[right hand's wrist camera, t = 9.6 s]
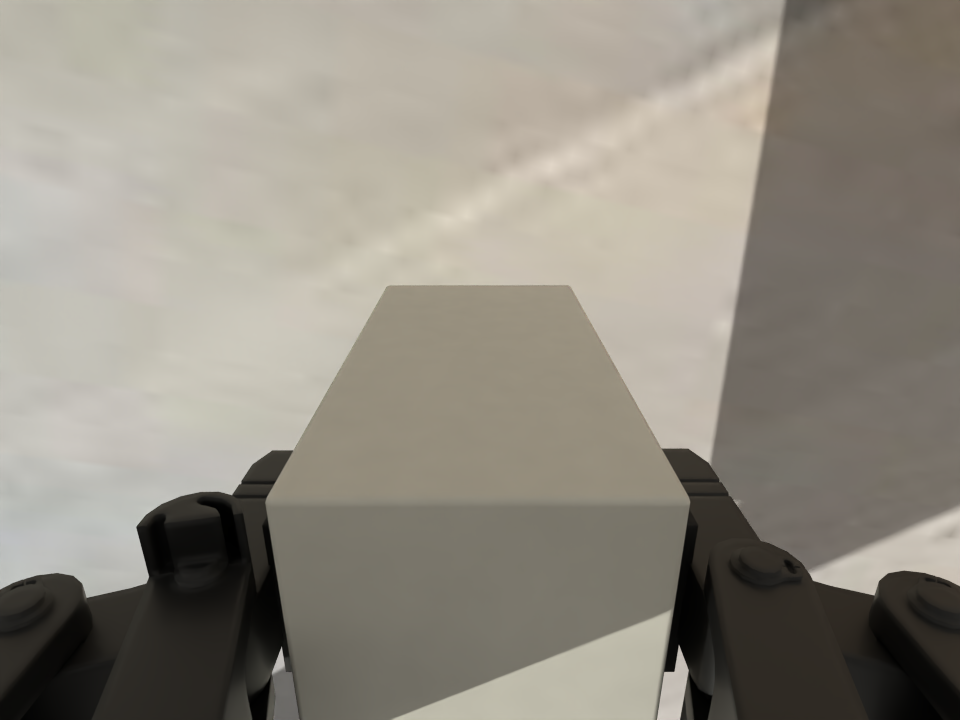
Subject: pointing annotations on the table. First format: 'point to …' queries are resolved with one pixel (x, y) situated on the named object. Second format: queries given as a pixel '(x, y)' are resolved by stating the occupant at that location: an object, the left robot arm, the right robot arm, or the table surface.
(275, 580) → the right robot arm
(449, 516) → the bar
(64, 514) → the table surface
